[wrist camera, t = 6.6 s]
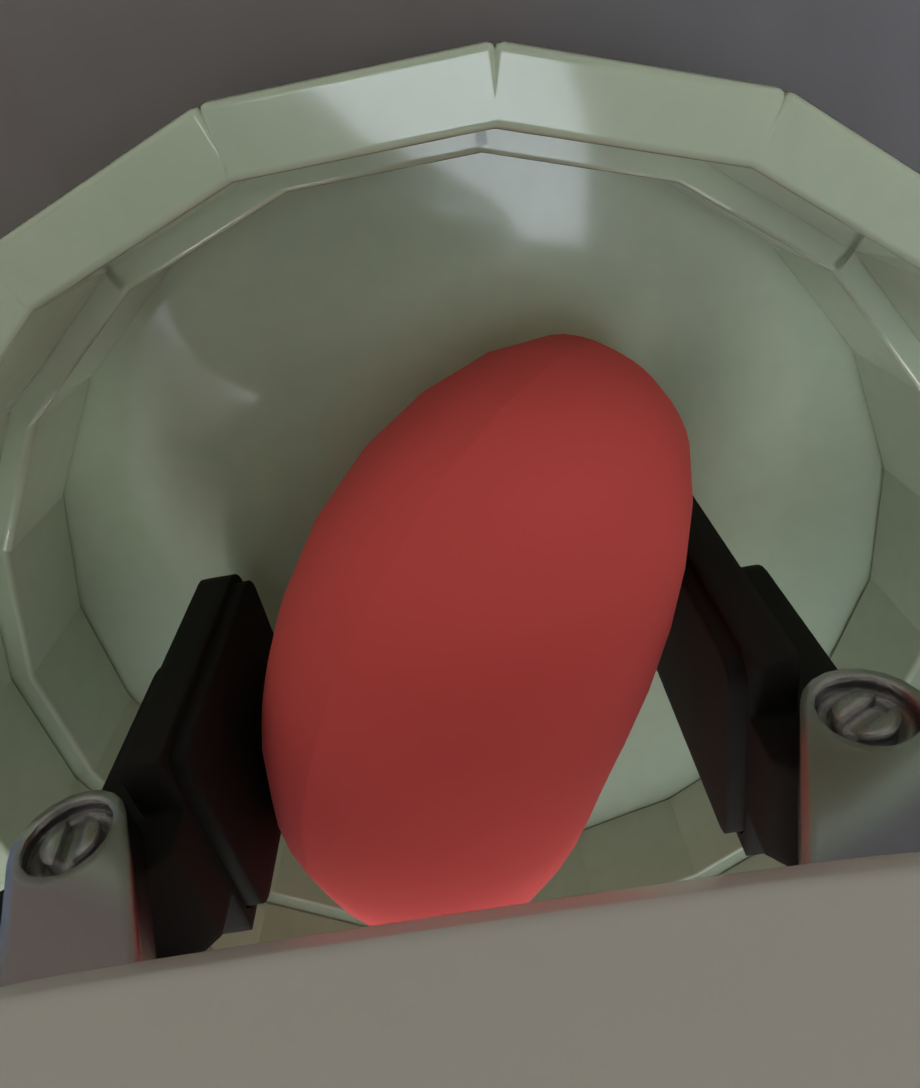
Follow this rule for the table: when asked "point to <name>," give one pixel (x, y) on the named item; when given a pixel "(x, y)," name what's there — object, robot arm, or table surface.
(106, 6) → the table surface
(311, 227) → the bowl
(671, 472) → the red oval piece
